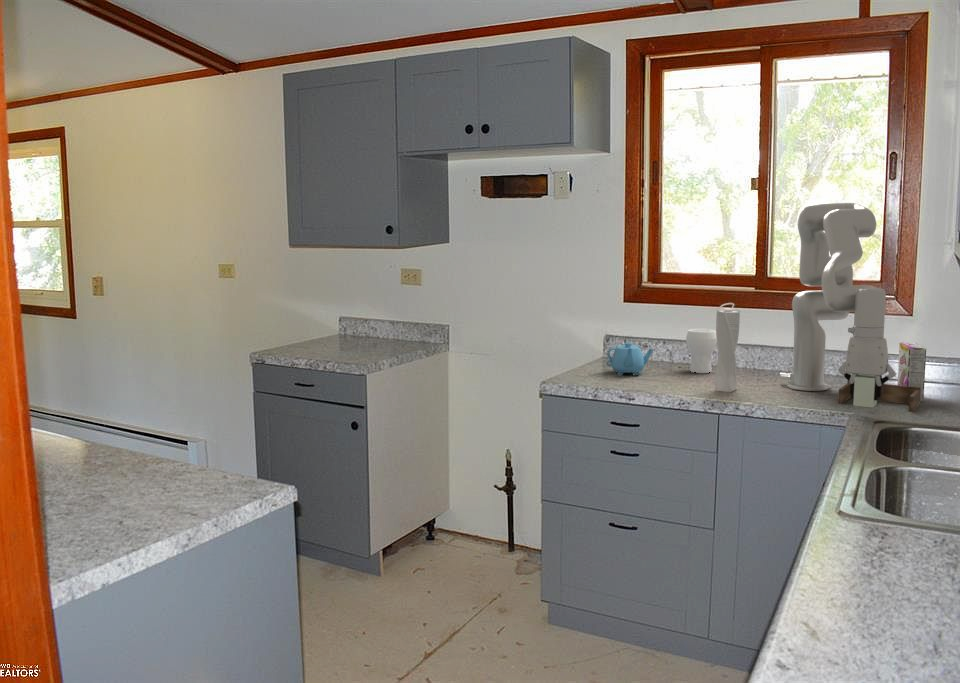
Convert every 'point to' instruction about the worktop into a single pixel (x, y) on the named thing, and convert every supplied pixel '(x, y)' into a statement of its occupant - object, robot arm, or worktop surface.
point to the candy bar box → (912, 366)
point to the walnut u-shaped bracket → (889, 395)
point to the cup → (701, 349)
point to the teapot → (628, 359)
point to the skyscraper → (727, 348)
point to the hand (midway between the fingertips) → (865, 397)
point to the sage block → (864, 390)
